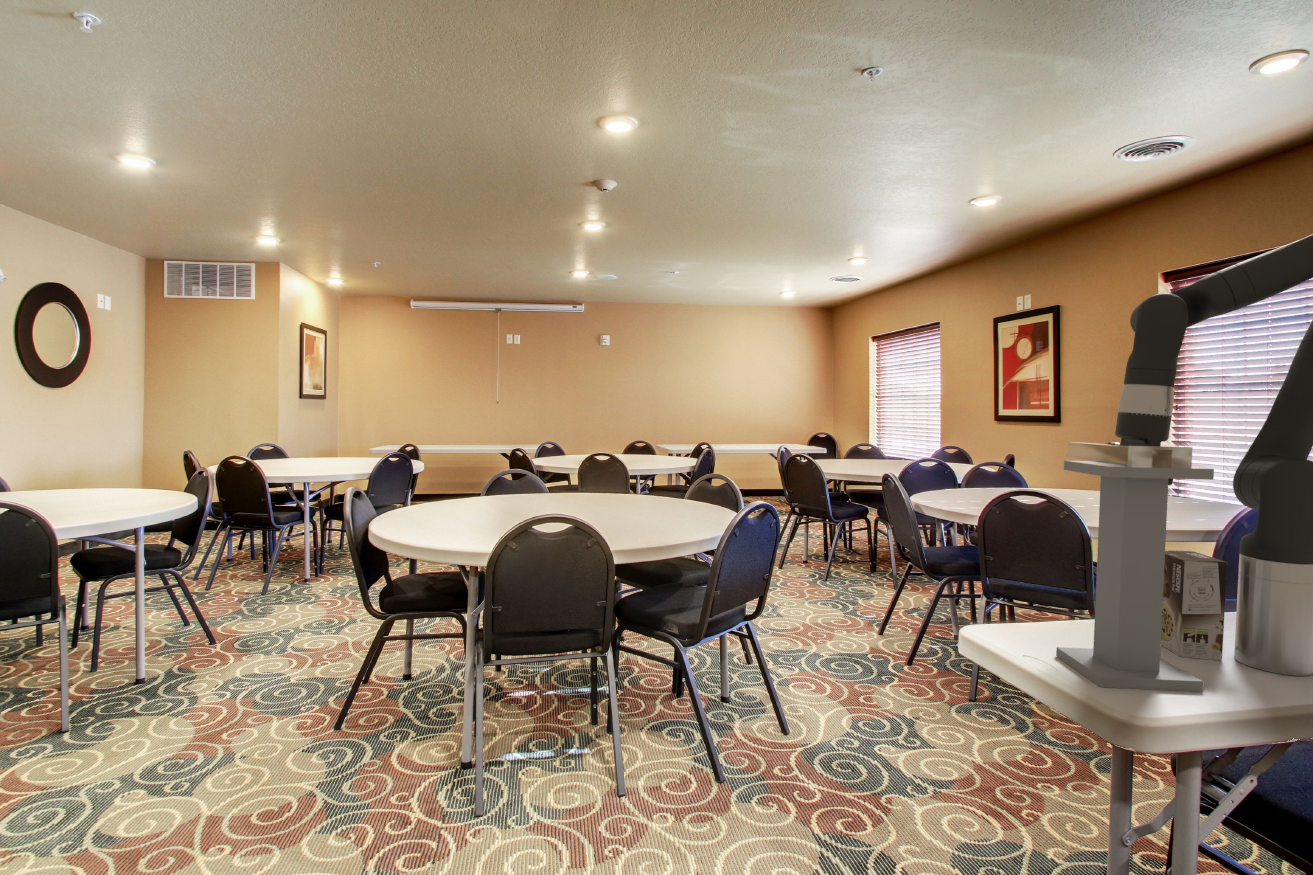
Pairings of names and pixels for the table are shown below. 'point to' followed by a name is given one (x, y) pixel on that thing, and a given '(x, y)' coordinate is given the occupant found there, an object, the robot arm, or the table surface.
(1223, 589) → the coffee box
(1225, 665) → the table surface
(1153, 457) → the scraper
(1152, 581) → the stand
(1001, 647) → the table surface
